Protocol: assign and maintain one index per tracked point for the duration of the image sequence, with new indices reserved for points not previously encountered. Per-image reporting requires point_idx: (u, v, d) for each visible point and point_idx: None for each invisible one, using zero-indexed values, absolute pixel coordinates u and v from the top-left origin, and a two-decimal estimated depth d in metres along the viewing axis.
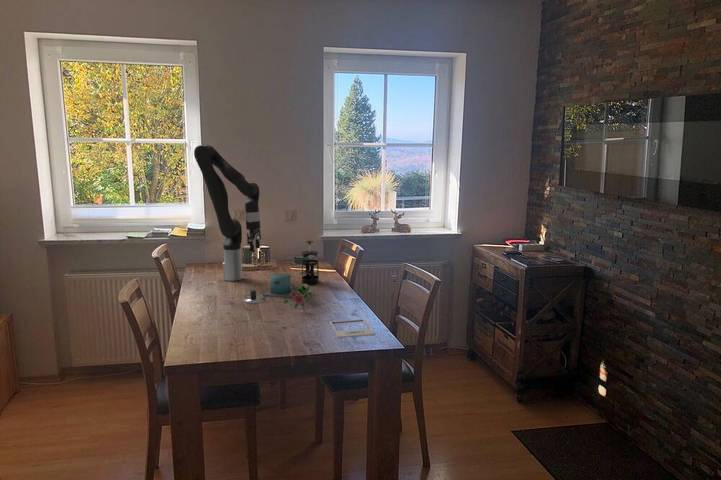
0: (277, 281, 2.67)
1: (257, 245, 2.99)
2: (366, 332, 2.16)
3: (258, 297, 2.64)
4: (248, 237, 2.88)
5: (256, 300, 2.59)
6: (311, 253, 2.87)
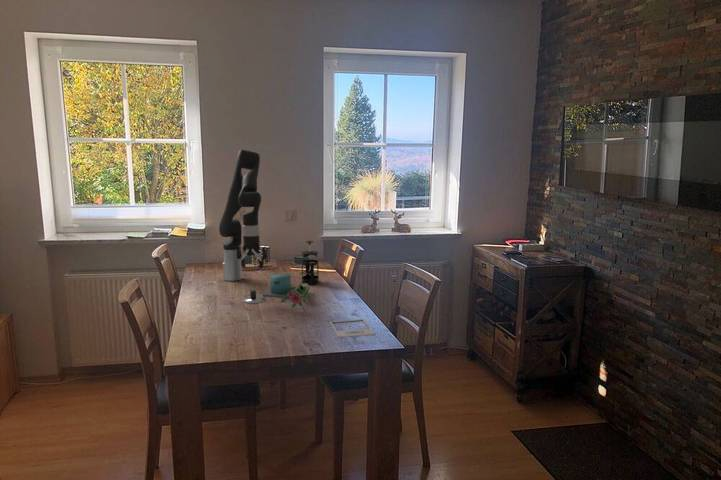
0: (277, 281, 2.67)
1: (244, 264, 2.60)
2: (366, 332, 2.16)
3: (258, 297, 2.64)
4: (265, 252, 2.56)
5: (256, 300, 2.59)
6: (311, 253, 2.87)
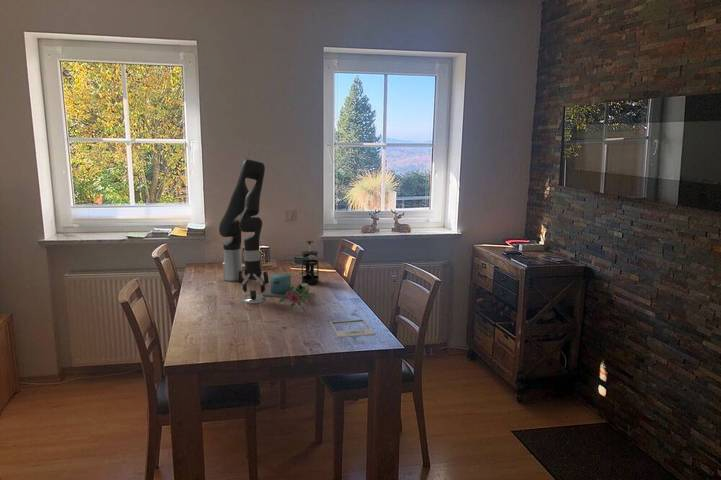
0: (277, 281, 2.67)
1: (246, 288, 2.62)
2: (366, 332, 2.16)
3: (258, 297, 2.64)
4: (266, 276, 2.58)
5: (256, 300, 2.59)
6: (311, 253, 2.87)
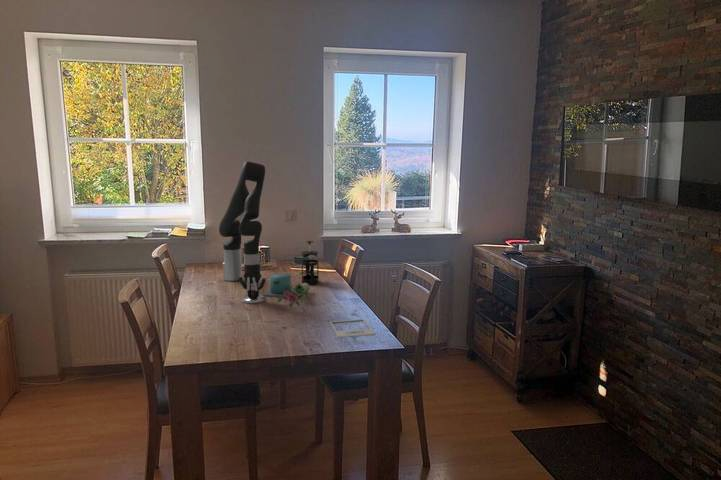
0: (277, 281, 2.67)
1: (250, 294, 2.62)
2: (366, 332, 2.16)
3: (258, 296, 2.64)
4: (263, 283, 2.59)
5: (256, 299, 2.59)
6: (311, 253, 2.87)
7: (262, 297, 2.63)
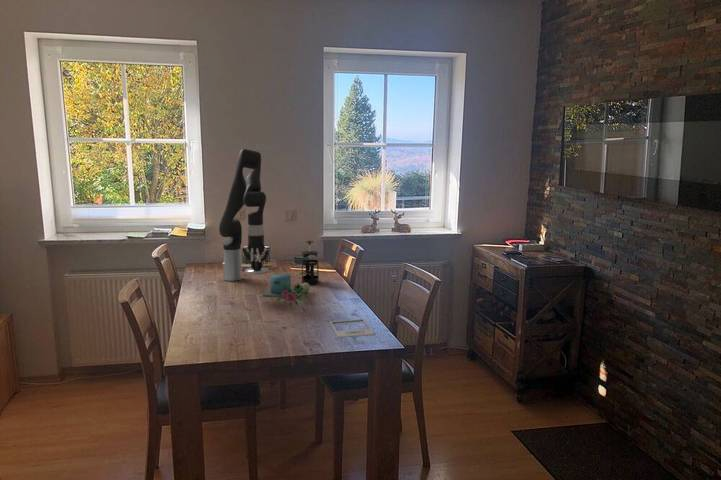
0: (277, 281, 2.67)
1: None
2: (366, 332, 2.16)
3: (262, 268, 2.64)
4: (267, 254, 2.59)
5: (259, 271, 2.59)
6: (311, 253, 2.87)
7: (265, 269, 2.63)
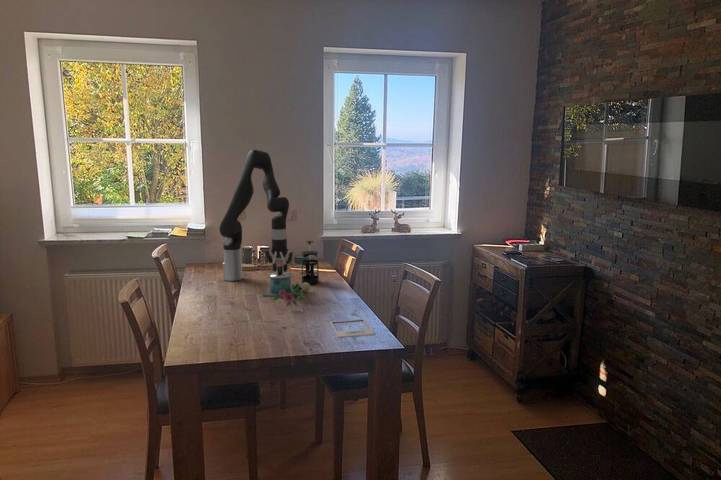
0: (277, 281, 2.67)
1: (275, 268, 2.72)
2: (366, 332, 2.16)
3: (284, 273, 2.74)
4: (291, 256, 2.69)
5: (283, 275, 2.69)
6: (311, 253, 2.87)
7: (288, 273, 2.73)
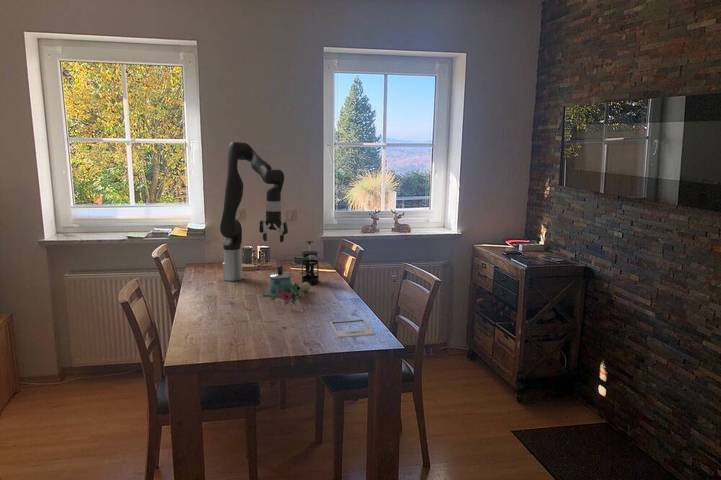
0: (277, 281, 2.67)
1: (266, 238, 2.76)
2: (366, 332, 2.16)
3: (284, 273, 2.74)
4: (286, 227, 2.72)
5: (283, 275, 2.69)
6: (311, 253, 2.87)
7: (288, 273, 2.73)
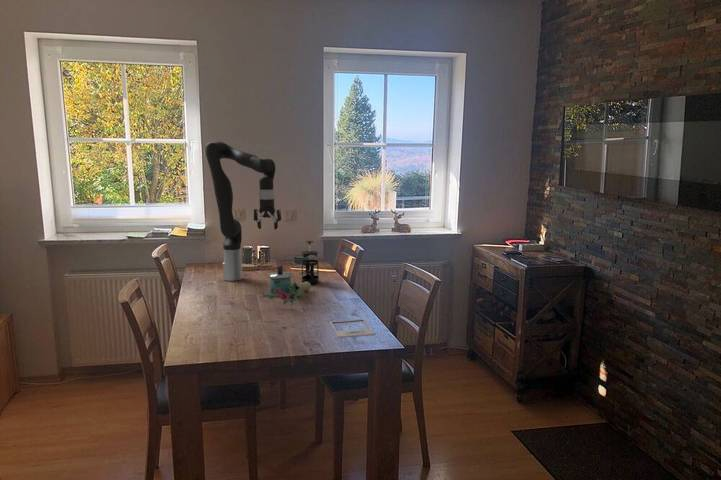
0: (277, 281, 2.67)
1: (260, 226, 2.84)
2: (366, 332, 2.16)
3: (284, 273, 2.74)
4: (279, 214, 2.81)
5: (283, 275, 2.69)
6: (311, 253, 2.87)
7: (288, 273, 2.73)
